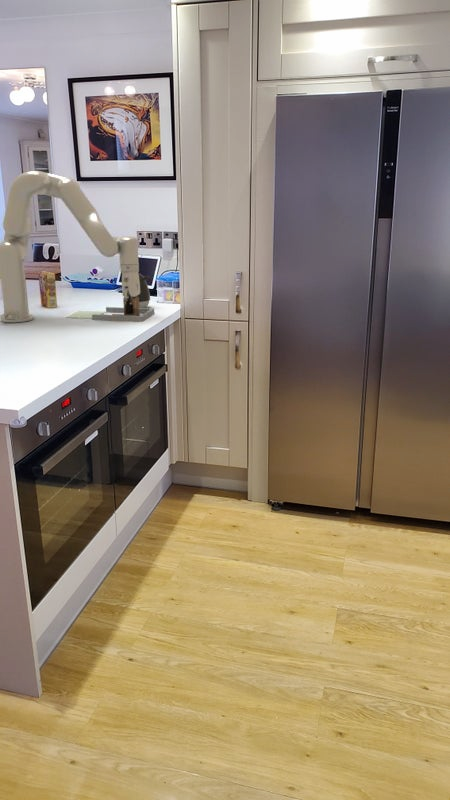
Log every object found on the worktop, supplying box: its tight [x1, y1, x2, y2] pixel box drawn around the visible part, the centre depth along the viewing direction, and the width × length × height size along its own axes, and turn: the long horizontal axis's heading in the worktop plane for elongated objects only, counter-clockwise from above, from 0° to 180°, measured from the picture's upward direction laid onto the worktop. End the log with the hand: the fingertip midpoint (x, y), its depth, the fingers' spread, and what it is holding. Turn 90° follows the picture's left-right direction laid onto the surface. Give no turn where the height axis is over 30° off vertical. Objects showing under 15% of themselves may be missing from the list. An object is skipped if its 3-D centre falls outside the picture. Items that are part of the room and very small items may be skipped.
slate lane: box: [91, 306, 155, 322], centre depth 260 cm, size 17×21×2 cm
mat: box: [65, 310, 107, 320], centre depth 263 cm, size 14×12×1 cm
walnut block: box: [111, 296, 140, 316], centre depth 259 cm, size 5×11×8 cm, turn 80°
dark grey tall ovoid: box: [128, 272, 151, 308], centre depth 277 cm, size 10×10×15 cm
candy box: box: [38, 270, 58, 309], centre depth 280 cm, size 9×4×15 cm, turn 39°
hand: (131, 312), depth 259 cm, fingers closed on walnut block, 5 cm apart
